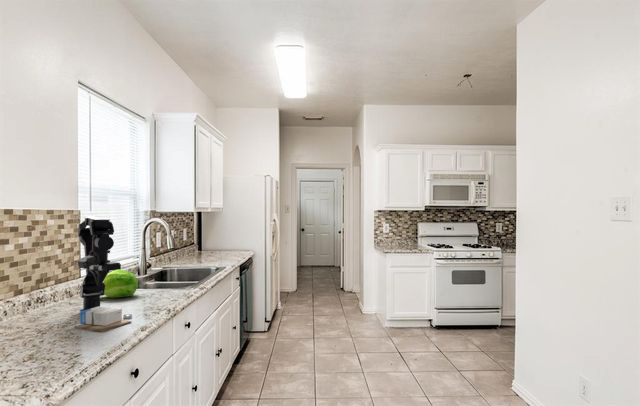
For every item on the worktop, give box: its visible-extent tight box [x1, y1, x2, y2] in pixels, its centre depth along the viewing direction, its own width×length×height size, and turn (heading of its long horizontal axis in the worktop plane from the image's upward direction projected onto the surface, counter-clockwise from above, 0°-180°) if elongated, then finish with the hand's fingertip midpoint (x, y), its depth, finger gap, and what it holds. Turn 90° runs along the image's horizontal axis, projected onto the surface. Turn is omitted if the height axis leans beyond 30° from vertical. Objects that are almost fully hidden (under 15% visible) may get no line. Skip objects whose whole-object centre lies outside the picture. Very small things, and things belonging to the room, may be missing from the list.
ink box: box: [79, 306, 123, 326], centre depth 146 cm, size 9×5×12 cm
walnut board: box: [74, 319, 132, 333], centre depth 144 cm, size 14×13×1 cm
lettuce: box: [103, 269, 139, 298], centre depth 192 cm, size 15×22×15 cm
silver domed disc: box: [122, 313, 133, 320], centre depth 154 cm, size 3×3×1 cm
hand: (99, 285), depth 156 cm, fingers closed
